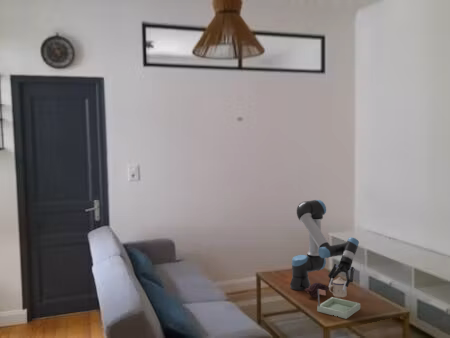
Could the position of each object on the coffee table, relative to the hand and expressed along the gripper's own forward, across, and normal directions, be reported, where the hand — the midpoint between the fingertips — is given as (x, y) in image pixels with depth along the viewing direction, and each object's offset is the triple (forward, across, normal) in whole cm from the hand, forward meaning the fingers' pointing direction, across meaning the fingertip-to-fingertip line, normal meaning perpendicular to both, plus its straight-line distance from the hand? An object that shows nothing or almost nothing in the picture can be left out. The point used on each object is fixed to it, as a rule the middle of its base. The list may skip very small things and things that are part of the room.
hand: (336, 289), depth 279 cm
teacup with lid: (+2, +1, -6) cm, 6 cm away
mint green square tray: (+8, 0, -13) cm, 15 cm away
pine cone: (-1, +23, -22) cm, 32 cm away
